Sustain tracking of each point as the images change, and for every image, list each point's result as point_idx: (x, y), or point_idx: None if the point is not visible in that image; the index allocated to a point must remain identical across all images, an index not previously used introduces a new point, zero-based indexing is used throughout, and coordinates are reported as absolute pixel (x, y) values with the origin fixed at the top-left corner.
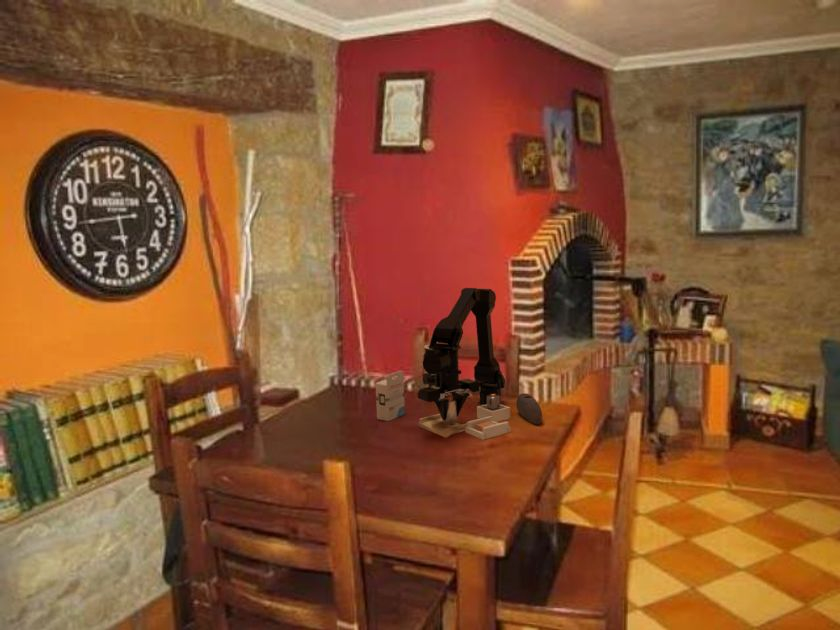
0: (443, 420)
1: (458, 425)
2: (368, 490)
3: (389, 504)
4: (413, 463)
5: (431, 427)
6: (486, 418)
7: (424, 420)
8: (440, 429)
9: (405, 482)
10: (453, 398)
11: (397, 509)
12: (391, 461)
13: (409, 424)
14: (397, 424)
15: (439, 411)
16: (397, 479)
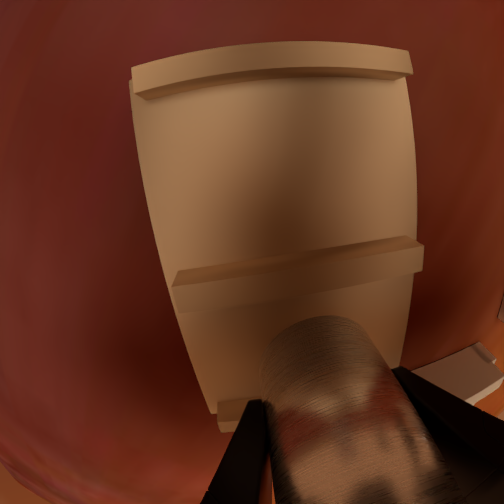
0: (262, 386)
1: (384, 320)
2: (3, 460)
3: (40, 491)
4: (56, 461)
5: (177, 266)
6: (472, 402)
7: (184, 86)
8: (224, 342)
9: (50, 483)
10: (500, 478)
11: (51, 500)
12: (4, 424)
13: (104, 30)
14: (48, 16)
15: (220, 469)
16: (35, 472)
